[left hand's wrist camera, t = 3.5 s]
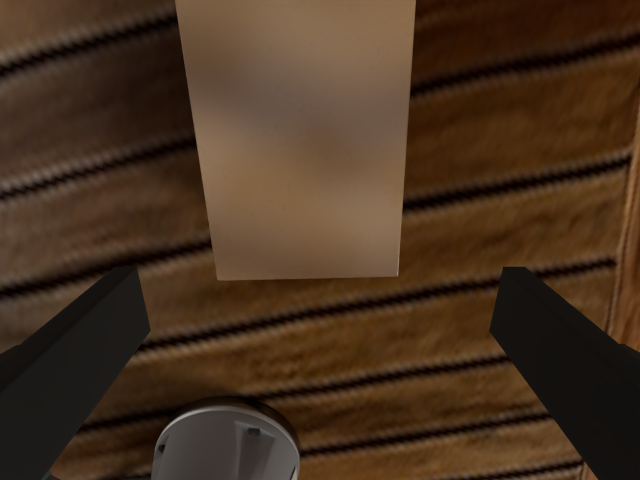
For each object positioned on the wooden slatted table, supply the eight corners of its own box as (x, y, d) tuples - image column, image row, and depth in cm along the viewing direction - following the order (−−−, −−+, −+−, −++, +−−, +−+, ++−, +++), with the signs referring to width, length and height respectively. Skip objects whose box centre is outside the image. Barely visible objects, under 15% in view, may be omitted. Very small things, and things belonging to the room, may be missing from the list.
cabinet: (211, -74, 22) (147, -176, 14) (387, -80, 21) (428, -186, 13) (245, 230, 29) (217, 280, 21) (376, 227, 29) (397, 276, 21)
